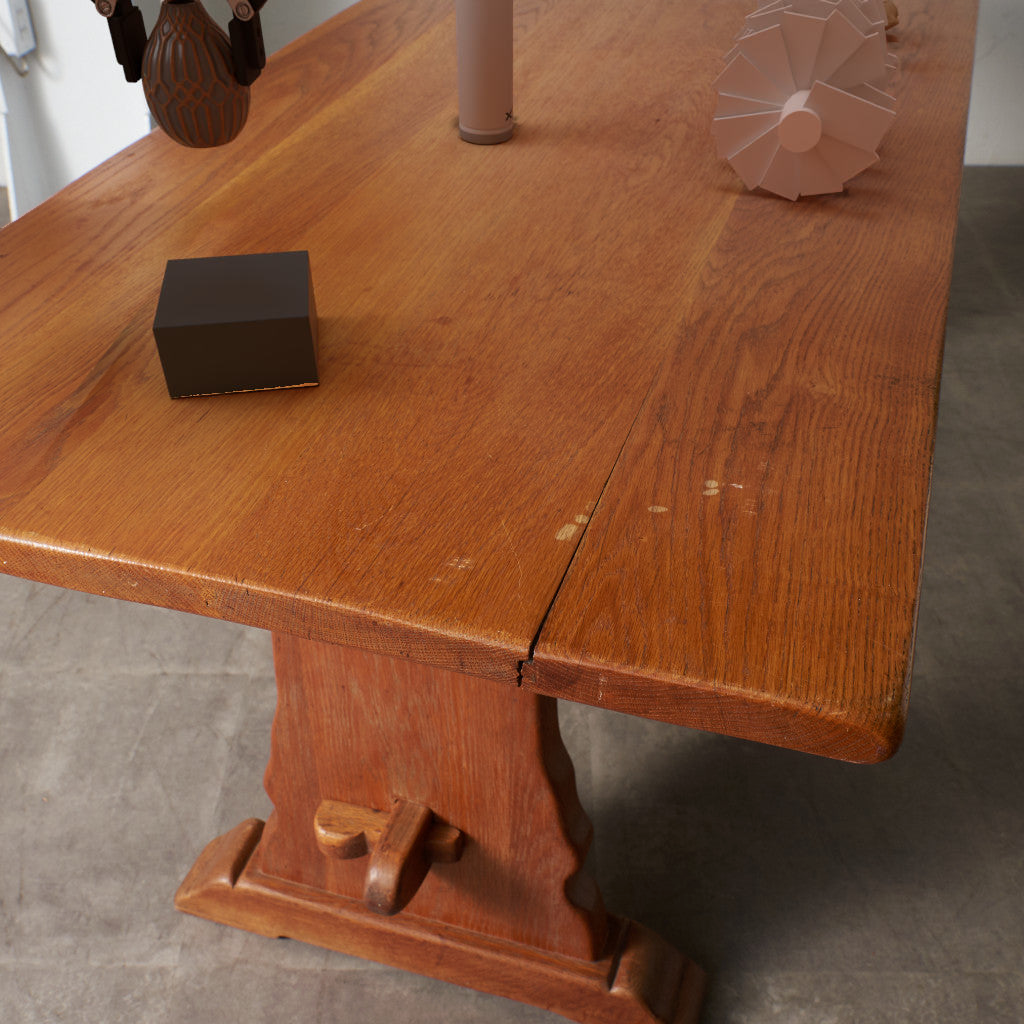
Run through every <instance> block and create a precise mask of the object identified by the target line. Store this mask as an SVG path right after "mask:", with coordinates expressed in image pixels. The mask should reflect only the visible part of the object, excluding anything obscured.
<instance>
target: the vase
mask: <svg viewBox="0 0 1024 1024" xmlns="http://www.w3.org/2000/svg"><path fill="white" fill-rule="evenodd" d="M147 39H148V41H147V43H146V45H145V48H144V51H143V56H142V65H141V77H142V79H141V85H142V91H143V95H144V98H145V102H146V105H147V107H148V109H149V112H150V113H151V116H152V117H153V120H154V122H155V123H156V124H157V126H158V127H159V128H160V130H161V131H163V132H164V134H165V135H166V136H168V137H169V138H170V139H171V140H173V141H174V142H175V143H177V144H178V145H180V146H182V147H185V148H189V149H212V148H218V147H222V146H225V145H228V144H231V143H232V142H234V141H235V140H236V139H237V138H238V136H239V135H240V134H241V132H242V131H243V129H244V128H245V126H246V124H247V122H248V119H249V116H250V115H249V114H250V109H251V99H252V96H251V95H252V94H251V85H250V86H241V85H240V84H238V82H237V77H236V72H235V66H234V60H233V54H232V48H231V42H230V36H229V34H227V32H226V31H225V30H224V29H223V28H222V27H221V26H220V25H219V24H218V23H217V22H216V21H215V20H214V19H213V18H212V16H211V15H210V14H209V12H208V11H207V9H206V8H205V7H204V4H203V3H202V1H201V0H162V1H161V4H160V9H159V14H158V17H157V20H156V22H155V24H154V26H153V28H152V30H151V32H150V35H149V37H147Z"/></svg>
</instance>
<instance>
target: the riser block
mask: <svg viewBox="0 0 1024 1024" xmlns="http://www.w3.org/2000/svg"><path fill="white" fill-rule="evenodd" d="M152 323H153V324H152V328H151V330H152V334H153V337H154V341H155V346H156V349H157V352H158V358H159V361H160V364H161V368H162V372H163V376H164V380H165V384H166V387H167V392H168V396H169V398H170V397H171V398H174V397H181V396H190V395H192V396H193V395H197V394H199V395H202V394H212V393H225V392H233V391H243V390H255V389H264V388H275V387H279V386H280V387H285V386H292V385H300V384H304V383H318V382H319V383H320V370H318V369H320V368H318V361H319V333H318V332H319V331H318V328H319V327H318V326H319V325H318V312H317V305H316V295H315V290H314V282H313V276H312V267H311V261H310V254H309V250H307V249H305V250H304V249H303V250H291V251H276V252H261V253H260V252H259V253H245V254H233V255H219V256H218V255H216V256H205V257H204V256H203V257H190V258H188V257H187V258H175V259H167V261H166V265H165V270H164V274H163V280H162V283H161V287H160V292H159V296H158V301H157V305H156V310H155V315H154V317H153V322H152ZM317 325H318V326H317ZM171 398H170V399H171Z"/></svg>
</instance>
